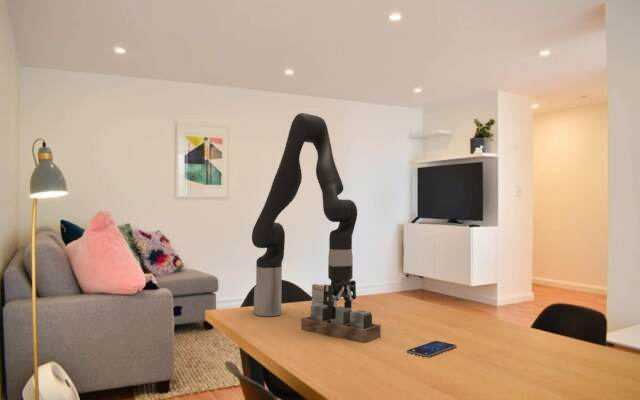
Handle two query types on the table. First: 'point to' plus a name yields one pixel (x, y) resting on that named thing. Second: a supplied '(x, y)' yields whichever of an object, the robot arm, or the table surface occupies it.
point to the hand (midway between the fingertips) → (340, 316)
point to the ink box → (318, 294)
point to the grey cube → (342, 316)
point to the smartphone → (431, 349)
